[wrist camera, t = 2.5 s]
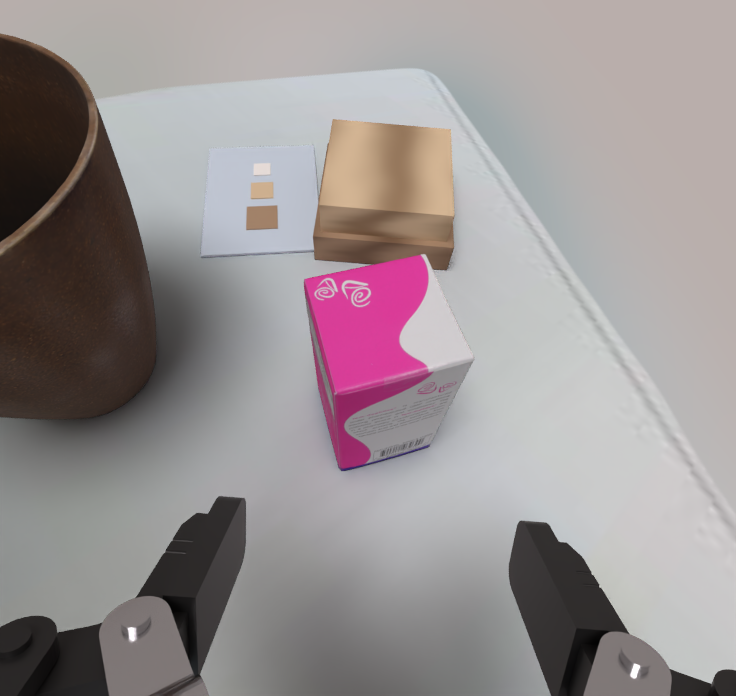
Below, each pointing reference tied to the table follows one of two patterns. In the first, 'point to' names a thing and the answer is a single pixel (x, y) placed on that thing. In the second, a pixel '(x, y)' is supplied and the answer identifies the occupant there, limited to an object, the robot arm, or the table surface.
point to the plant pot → (65, 249)
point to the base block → (385, 194)
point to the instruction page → (260, 201)
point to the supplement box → (384, 357)
